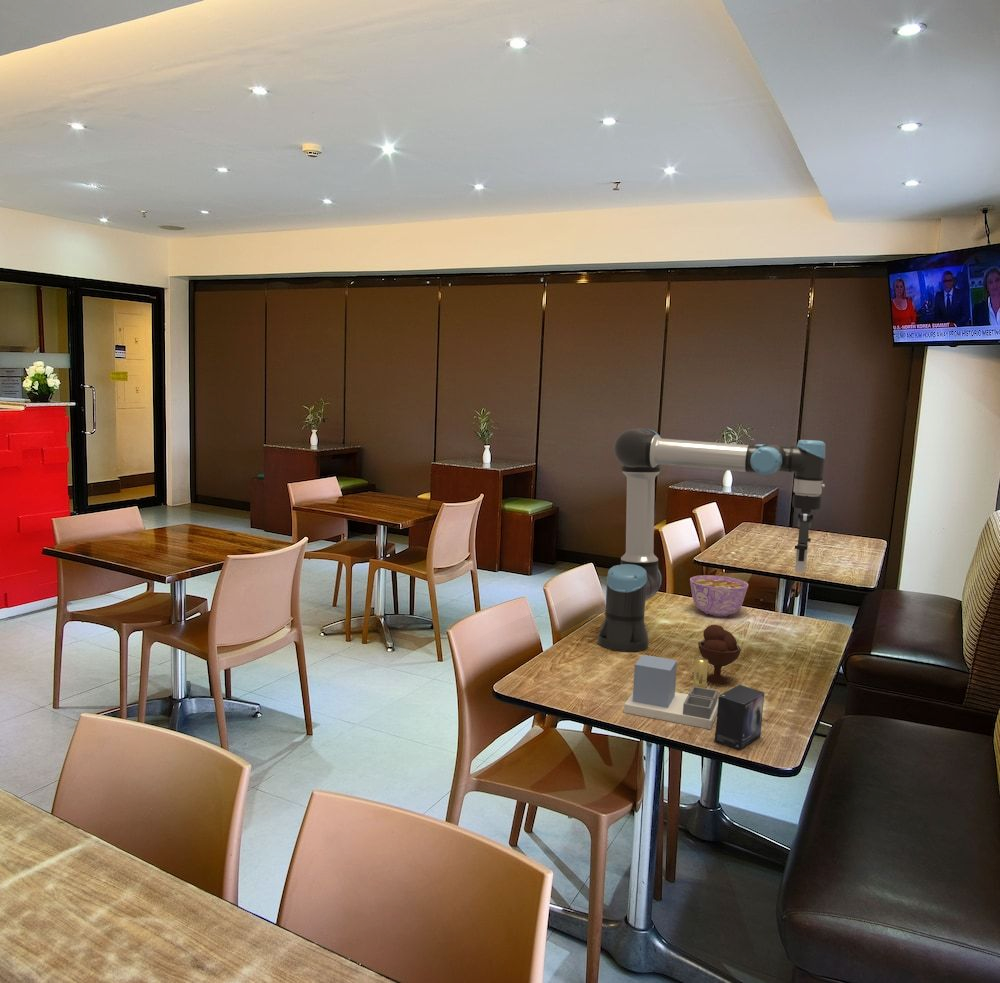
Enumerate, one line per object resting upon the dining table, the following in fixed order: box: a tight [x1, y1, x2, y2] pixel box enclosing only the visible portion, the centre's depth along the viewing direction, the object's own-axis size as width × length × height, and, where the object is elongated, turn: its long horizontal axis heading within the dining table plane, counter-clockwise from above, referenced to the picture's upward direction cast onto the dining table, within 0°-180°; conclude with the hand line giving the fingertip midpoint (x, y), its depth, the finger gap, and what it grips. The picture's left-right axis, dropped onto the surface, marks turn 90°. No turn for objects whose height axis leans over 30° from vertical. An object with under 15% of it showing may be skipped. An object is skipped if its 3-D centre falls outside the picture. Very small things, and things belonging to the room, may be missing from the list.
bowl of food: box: [689, 574, 749, 618], centre depth 277 cm, size 20×20×12 cm
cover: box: [632, 654, 678, 708], centre depth 189 cm, size 8×8×9 cm
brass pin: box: [692, 656, 709, 689], centre depth 195 cm, size 3×3×10 cm
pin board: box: [623, 685, 719, 730], centre depth 187 cm, size 20×14×9 cm
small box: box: [713, 684, 765, 750], centre depth 172 cm, size 11×6×10 cm, turn 138°
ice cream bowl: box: [697, 624, 742, 685], centre depth 208 cm, size 11×11×15 cm
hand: (800, 567), depth 226 cm, fingers open, 13 cm apart
